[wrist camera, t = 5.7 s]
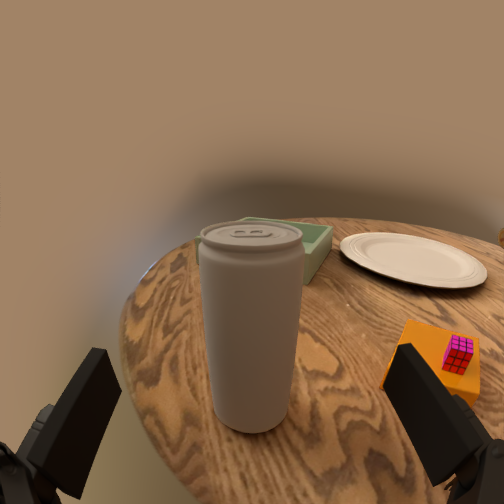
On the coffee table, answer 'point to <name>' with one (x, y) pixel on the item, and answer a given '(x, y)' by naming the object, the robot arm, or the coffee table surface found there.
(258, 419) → the beverage can
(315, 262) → the tray
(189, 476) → the coffee table surface
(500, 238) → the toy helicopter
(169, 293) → the coffee table surface
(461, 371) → the orange square platform
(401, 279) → the plate
